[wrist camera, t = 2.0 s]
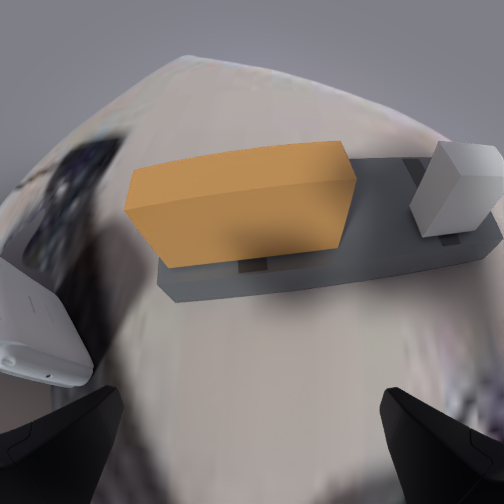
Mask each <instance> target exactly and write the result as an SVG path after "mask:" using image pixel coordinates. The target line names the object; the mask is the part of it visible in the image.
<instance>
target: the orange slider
mask: <svg viewBox="0 0 504 504" xmlns="http://www.w3.org/2000/svg"><path fill="white" fill-rule="evenodd" d="M356 180H357V178H356V176H355V173H354V171H353V168H352V166H351V163H350V161H349V159H348V156H347V154H346V152H345V150H344V147H343V145H342V143H341V141H327V142H312V143H299V144H288V145H278V146H269V147H260V148H252V149H244V150H237V151H230V152H224V153H217V154H211V155H205V156H199V157H194V158H188V159H183V160H178V161H173V162H168V163H163V164H159V165H154V166H149V167H145V168H141V169H136V170H134V171H133V174H132V178H131V182H130V186H129V190H128V195H127V199H126V203H125V208H124V211H125V212H126V214H127V215H128V217H129V218H130V219H131V221H132V222H133V223H134V225H135V226H136V227H137V229H138V230H139V231H140V233H141V234H142V235H143V237H144V238H145V239H146V240H147V242H148V243H149V244H150V246H151V247H152V248H153V250H154V251H155V252H156V253H157V255H158V256H159V257H160V258H161V260H162V261H163V262H164V263H165V265H166V266H167V267H168V268H175V267H184V266H193V265H201V264H210V263H219V262H227V261H236V260H244V259H252V258H261V257H269V256H278V255H286V254H294V253H302V252H311V251H319V250H327V249H335V248H338V246H339V243H340V239H341V236H342V232H343V229H344V225H345V222H346V218H347V215H348V211H349V207H350V204H351V200H352V196H353V192H354V188H355V184H356Z"/></svg>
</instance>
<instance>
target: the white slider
mask: <svg viewBox="0 0 504 504" xmlns="http://www.w3.org/2000/svg"><path fill="white" fill-rule="evenodd" d="M503 194H504V159H503V157H502V156H501V154H500V153H499V152H498V150H497V149H496V147H495V146H487V145H479V144H468V143H458V142H444V141H439V142H438V144H437V147H436V149H435V152H434V154H433V156H432V159H431V161H430V163H429V165H428V168H427V170H426V172H425V174H424V176H423V179H422V181H421V183H420V185H419V187H418V189H417V191H416V193H415V195H414V197H413V199H412V201H411V203H410V205H409V207H410V209H411V211H412V214H413V216H414V218H415V221H416V223H417V226H418V228H419V231H420V233H421V236H422V237H430V236H437V235H445V234H453V233H460V232H468V231H475V230H476V229H477V227H478V226H479V225H480V224H481V223H482V221H483V220H484V219H485V218H486V216H487V215H488V214H489V212H490V211H491V210H492V209H493V207H494V206H495V205H496V203H497V202H498V201H499V199H500V198H501V196H502V195H503Z"/></svg>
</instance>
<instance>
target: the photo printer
mask: <svg viewBox="0 0 504 504" xmlns="http://www.w3.org/2000/svg"><path fill="white" fill-rule="evenodd" d="M93 368H94V365H93V362H92V360H91V357H90V355H89V353H88V351H87V349H86V348H85V346H84V344H83V342H82V340H81V338H80V336H79V334H78V332H77V330H76V328H75V327H74V325H73V323H72V321H71V319H70V317H69V315H68V313H67V311H66V309H65V307H64V306H63V304H62V302H61V301H60V299H59V298H58V297H57V296H56V295H55V294H54V293H52V292H51V291H49V290H47V289H46V288H44V287H43V286H41V285H40V284H38V283H37V282H35V281H34V280H32V279H31V278H29V277H28V276H26V275H25V274H24V273H22V272H20V271H19V270H18V269H16V268H15V267H14V266H12V265H11V264H9V263H8V262H7V261H5V260H4V259H3V258H1V257H0V372H3V373H7V374H11V375H14V376H18V377H21V378H26V379H30V380H34V381H38V382H43V383H47V384H52V385H57V386H62V387H68V388H72V387H73V386H82V385H84V384H86V383H87V382H88V381H89V379H90V378H91V375H92V373H93Z"/></svg>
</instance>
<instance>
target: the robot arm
mask: <svg viewBox="0 0 504 504" xmlns="http://www.w3.org/2000/svg"><path fill="white" fill-rule="evenodd" d="M123 411H124V403H123V401H122V398H121V395H120V392H119V389H118V388H117V387H115V386H110V385H106V386H104V387H102V388H100V389H98V390H96V391H94V392H92V393H90V394H88V395H86V396H84V397H82V398H80V399H78V400H76V401H74V402H72V403H70V404H68V405H66V406H64V407H62V408H60V409H58V410H56V411H54V412H51V413H49V414H47V415H45V416H43V417H41V418H39V419H36V420H34V421H33V422H30V423H28V424H25V425H23V426H21V427H18V428H16V429H13V430H11V431H8V432H5V433H2V434H0V504H90V503H91V500H92V498H93V495H94V492H95V490H96V487H97V484H98V482H99V479H100V477H101V474H102V472H103V469H104V467H105V464H106V462H107V459H108V457H109V455H110V452H111V450H112V447H113V445H114V442H115V439H116V435H117V432H118V428H119V425H120V421H121V418H122V414H123ZM380 415H381V420H382V424H383V428H384V432H385V437H386V441H387V445H388V449H389V452H390V455H391V458H392V460H393V463H394V466H395V469H396V472H397V475H398V478H399V481H400V484H401V487H402V490H403V493H404V496H405V499H406V502H407V504H504V443H502V442H500V441H497V440H495V439H492V438H490V437H488V436H485V435H483V434H481V433H479V432H477V431H475V430H474V429H472V428H469V427H468V426H466V425H464V424H462V423H460V422H458V421H457V420H455V419H453V418H451V417H449V416H447V415H445V414H444V413H442V412H440V411H438V410H436V409H435V408H433V407H431V406H429V405H428V404H426V403H424V402H422V401H420V400H419V399H417V398H415V397H413V396H412V395H410V394H408V393H406V392H405V391H403V390H401V389H400V388H398V387H393V388H388V389H386V390H385V391H384V394H383V398H382V401H381V404H380Z"/></svg>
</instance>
